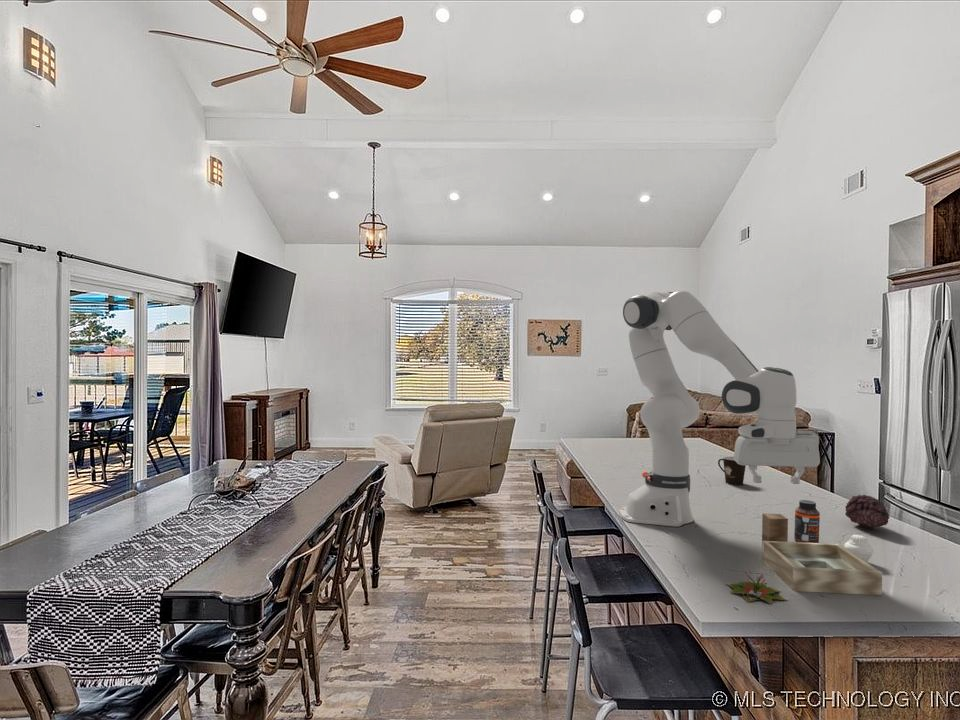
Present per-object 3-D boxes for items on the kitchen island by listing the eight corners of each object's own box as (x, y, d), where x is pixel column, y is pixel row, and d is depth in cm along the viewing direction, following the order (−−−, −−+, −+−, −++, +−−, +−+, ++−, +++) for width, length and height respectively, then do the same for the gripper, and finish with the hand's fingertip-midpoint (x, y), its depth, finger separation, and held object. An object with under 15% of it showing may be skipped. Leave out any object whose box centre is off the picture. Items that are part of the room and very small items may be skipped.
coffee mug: (750, 486, 219) (750, 460, 218) (728, 485, 219) (728, 460, 219) (736, 479, 230) (737, 455, 230) (715, 478, 230) (716, 455, 230)
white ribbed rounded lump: (845, 555, 144) (845, 528, 144) (874, 561, 140) (874, 534, 140) (842, 562, 139) (842, 534, 139) (872, 568, 135) (872, 540, 135)
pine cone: (902, 539, 157) (902, 504, 157) (863, 537, 159) (864, 502, 159) (869, 520, 175) (870, 489, 174) (835, 518, 176) (835, 487, 176)
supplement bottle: (810, 547, 150) (811, 505, 150) (789, 540, 156) (790, 500, 155) (823, 543, 153) (824, 502, 153) (802, 537, 158) (803, 497, 158)
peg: (768, 557, 143) (769, 518, 143) (761, 550, 147) (762, 513, 147) (787, 557, 142) (787, 519, 142) (779, 551, 147) (780, 514, 147)
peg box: (794, 590, 122) (795, 568, 122) (761, 560, 140) (762, 540, 140) (881, 595, 121) (882, 572, 120) (837, 563, 138) (837, 543, 138)
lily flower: (799, 607, 116) (799, 585, 116) (744, 608, 115) (744, 586, 115) (765, 583, 128) (765, 563, 128) (715, 584, 127) (715, 564, 127)
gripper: (812, 429, 146) (812, 481, 146) (732, 427, 148) (731, 479, 149) (825, 432, 140) (824, 487, 140) (740, 430, 142) (740, 484, 142)
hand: (776, 482), depth 144 cm, fingers open, 8 cm apart
